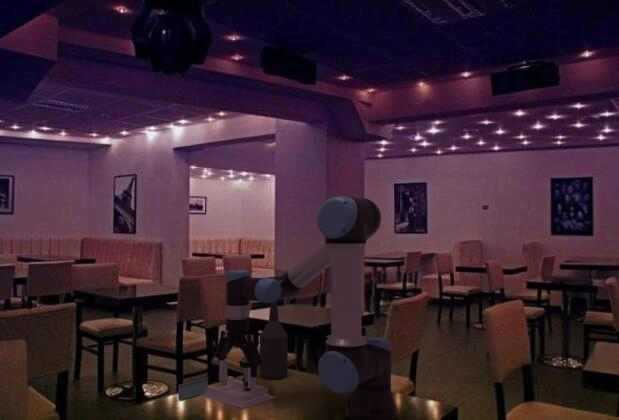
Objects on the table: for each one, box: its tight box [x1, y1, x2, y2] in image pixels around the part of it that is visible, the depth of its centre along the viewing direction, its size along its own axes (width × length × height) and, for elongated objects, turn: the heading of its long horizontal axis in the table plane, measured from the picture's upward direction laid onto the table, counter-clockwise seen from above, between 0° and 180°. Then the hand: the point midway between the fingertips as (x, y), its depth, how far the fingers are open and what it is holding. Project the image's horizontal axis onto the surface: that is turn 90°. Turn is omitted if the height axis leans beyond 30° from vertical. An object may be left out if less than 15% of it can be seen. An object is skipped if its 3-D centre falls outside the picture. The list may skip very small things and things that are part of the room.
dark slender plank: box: [177, 377, 209, 401], centre depth 184 cm, size 1×11×4 cm, turn 140°
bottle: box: [259, 299, 289, 381], centre depth 210 cm, size 10×10×30 cm
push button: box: [238, 356, 253, 392], centre depth 182 cm, size 7×5×10 cm
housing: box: [199, 375, 276, 410], centre depth 186 cm, size 22×14×3 cm
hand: (237, 383), depth 184 cm, fingers open, 13 cm apart
